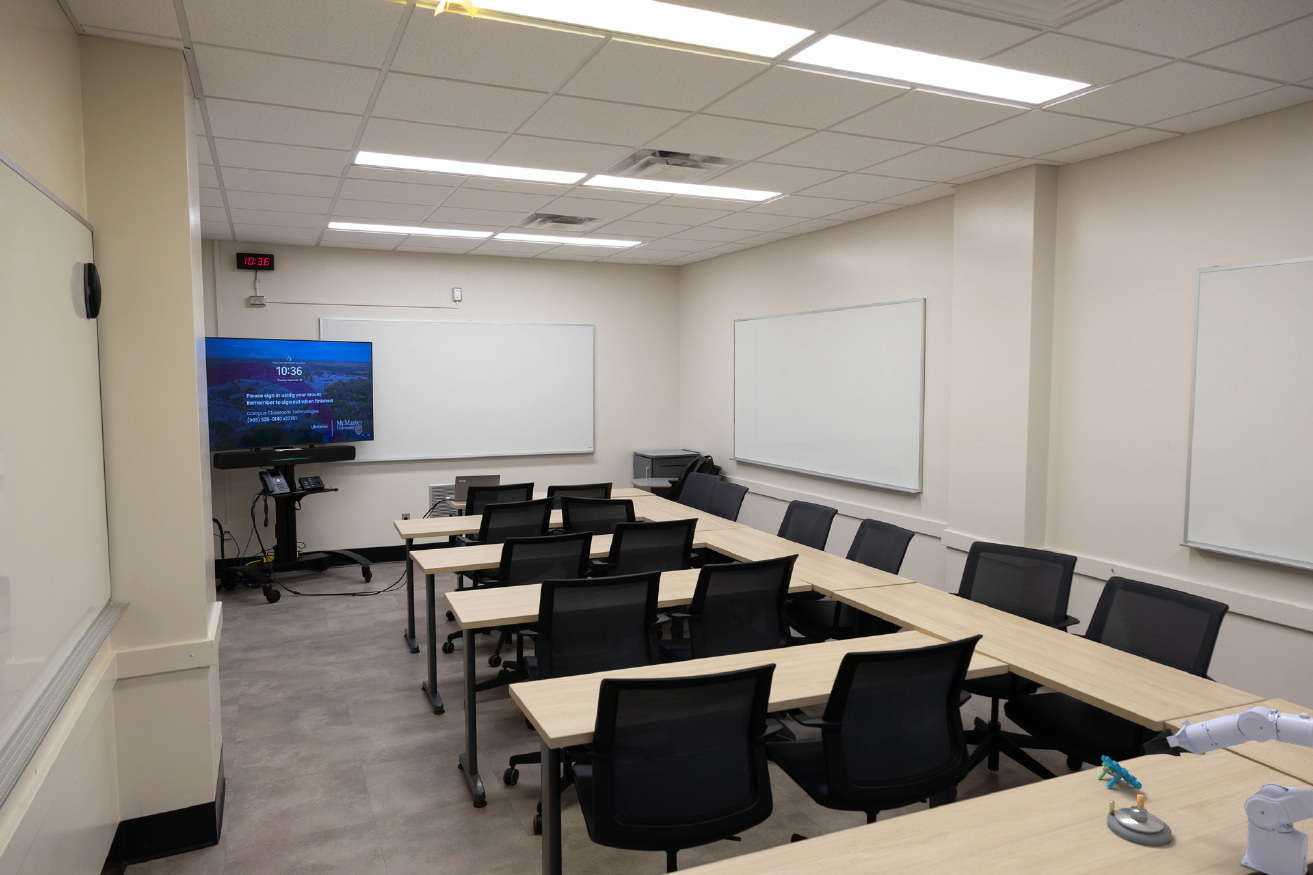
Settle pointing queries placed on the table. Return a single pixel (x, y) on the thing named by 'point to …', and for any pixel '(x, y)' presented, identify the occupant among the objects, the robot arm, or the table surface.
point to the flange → (1139, 818)
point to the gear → (1117, 773)
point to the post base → (1136, 836)
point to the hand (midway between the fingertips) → (1155, 749)
